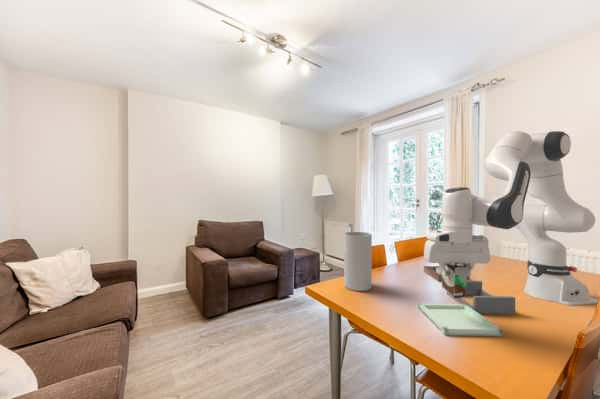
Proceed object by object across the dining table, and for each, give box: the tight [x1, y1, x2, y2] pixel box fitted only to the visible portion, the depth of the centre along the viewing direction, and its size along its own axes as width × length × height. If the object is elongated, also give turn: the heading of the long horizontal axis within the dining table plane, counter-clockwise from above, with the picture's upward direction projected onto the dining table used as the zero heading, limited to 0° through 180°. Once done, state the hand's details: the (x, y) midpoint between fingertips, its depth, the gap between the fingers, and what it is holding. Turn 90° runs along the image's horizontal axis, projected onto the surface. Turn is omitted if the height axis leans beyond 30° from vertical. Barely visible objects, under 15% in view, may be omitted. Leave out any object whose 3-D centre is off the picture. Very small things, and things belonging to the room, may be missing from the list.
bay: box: [446, 280, 516, 315], centre depth 93 cm, size 14×17×6 cm
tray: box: [417, 302, 504, 337], centre depth 80 cm, size 17×17×2 cm
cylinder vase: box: [343, 231, 373, 292], centre depth 111 cm, size 12×12×25 cm
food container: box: [441, 263, 470, 299], centre depth 80 cm, size 12×6×10 cm, turn 169°
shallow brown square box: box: [423, 265, 471, 283], centre depth 124 cm, size 15×15×4 cm
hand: (456, 275), depth 80 cm, fingers closed on food container, 5 cm apart
